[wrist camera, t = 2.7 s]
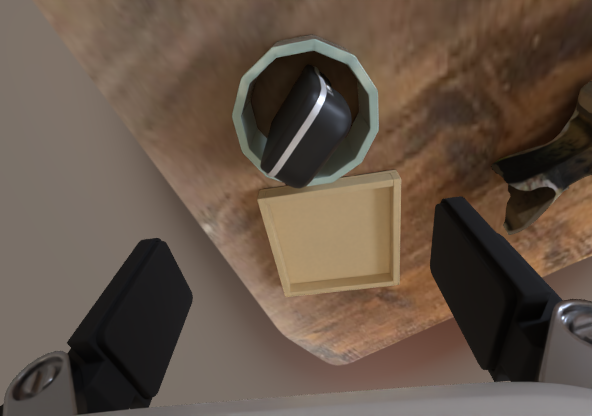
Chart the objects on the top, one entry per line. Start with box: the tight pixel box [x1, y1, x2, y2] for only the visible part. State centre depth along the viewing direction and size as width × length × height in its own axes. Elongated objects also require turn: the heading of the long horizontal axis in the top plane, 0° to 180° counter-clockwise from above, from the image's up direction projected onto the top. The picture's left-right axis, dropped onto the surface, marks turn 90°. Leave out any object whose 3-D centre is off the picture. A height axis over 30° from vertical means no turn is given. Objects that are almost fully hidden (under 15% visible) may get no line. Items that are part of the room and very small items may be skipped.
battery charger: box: [260, 64, 352, 189], centre depth 24 cm, size 7×4×11 cm, turn 147°
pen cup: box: [232, 34, 379, 187], centre depth 26 cm, size 11×11×6 cm
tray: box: [257, 170, 401, 297], centre depth 36 cm, size 15×16×2 cm
